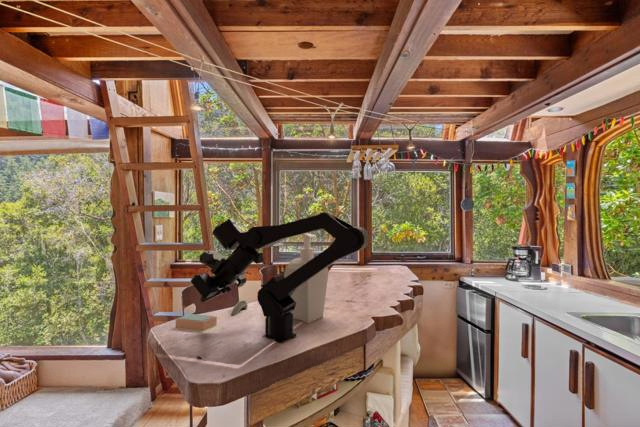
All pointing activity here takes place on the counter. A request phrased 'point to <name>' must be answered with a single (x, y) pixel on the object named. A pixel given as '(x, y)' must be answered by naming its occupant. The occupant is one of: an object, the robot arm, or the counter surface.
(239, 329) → the counter surface
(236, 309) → the ceramic fragment
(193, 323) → the block
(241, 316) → the counter surface
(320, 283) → the soap bottle
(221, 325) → the mat
